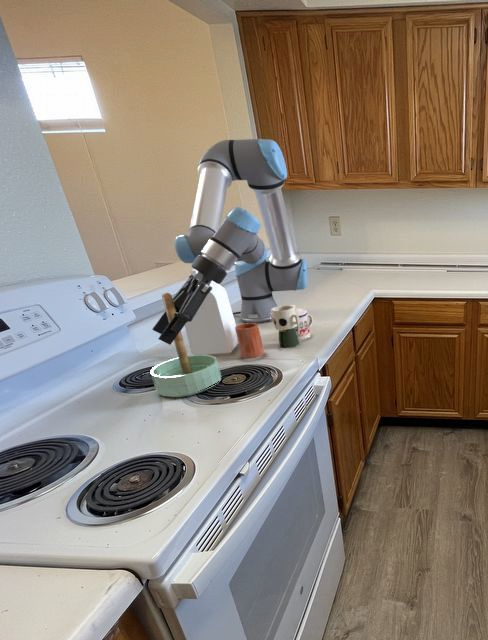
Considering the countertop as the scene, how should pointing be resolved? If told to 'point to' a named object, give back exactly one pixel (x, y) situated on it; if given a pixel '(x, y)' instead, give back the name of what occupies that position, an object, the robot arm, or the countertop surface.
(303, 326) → the white patterned mug
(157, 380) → the bowl
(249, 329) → the utensil crock
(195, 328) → the milk
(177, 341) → the stirring stick
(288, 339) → the character mug
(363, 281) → the countertop surface
